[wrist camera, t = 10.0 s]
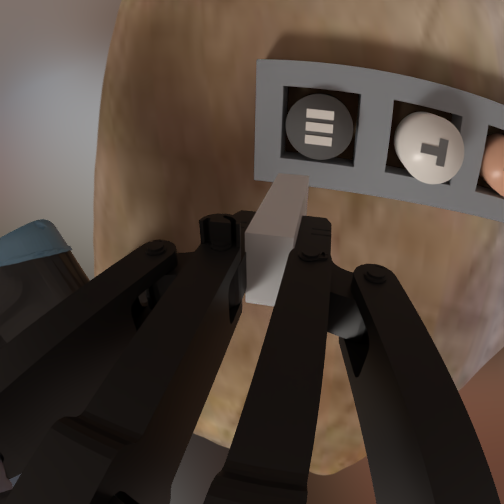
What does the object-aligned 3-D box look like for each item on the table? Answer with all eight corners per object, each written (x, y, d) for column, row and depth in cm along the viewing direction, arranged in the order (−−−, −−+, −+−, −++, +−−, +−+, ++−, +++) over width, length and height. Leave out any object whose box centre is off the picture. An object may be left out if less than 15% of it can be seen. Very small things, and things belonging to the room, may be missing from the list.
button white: (389, 166, 27) (395, 177, 24) (397, 105, 24) (405, 108, 21) (445, 178, 26) (457, 190, 23) (455, 119, 23) (469, 125, 20)
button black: (289, 148, 31) (283, 156, 28) (292, 90, 28) (286, 91, 25) (348, 155, 30) (349, 164, 27) (353, 97, 27) (356, 99, 24)
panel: (260, 171, 34) (253, 180, 31) (263, 61, 27) (256, 59, 25) (520, 218, 27) (531, 230, 25) (542, 123, 21) (556, 128, 18)
